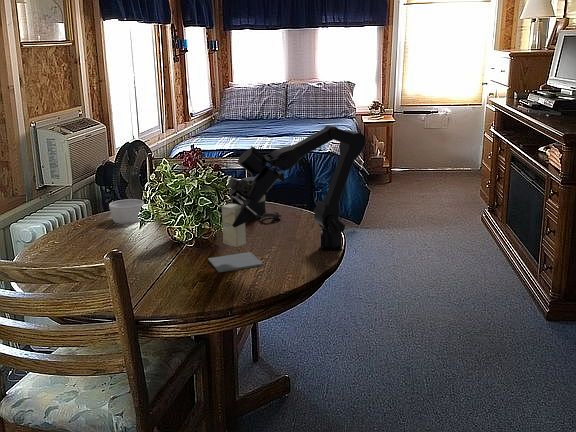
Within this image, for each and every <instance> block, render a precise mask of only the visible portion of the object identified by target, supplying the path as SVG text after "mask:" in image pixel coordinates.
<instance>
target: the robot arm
mask: <svg viewBox="0 0 576 432" xmlns="http://www.w3.org/2000/svg"><path fill="white" fill-rule="evenodd" d="M333 140H334V141H337V142H339V146H338V149H339V158H338V161H337V163H336V165H335V168H334V171H333V175H332V176H331V177H332V178H331V180H330V183H329V186H328V189H327V192H326V195H325V197H324V198H323V199H322V200H321V201H320V200H317V201H316V204H315V207H314V210H313V211H312V213H313V218H314V220H315V222H316V223H317V224H318V226H319V227H320V229H321V232H320V233H319V246H320V248H321V250H322V251H342V250H343V246H342V233H344V231H345V228H346V225H345V224H344V223H343V222H342V221H341V220H340V212H341V211H340V201H341V199H342V196H343V193H344V189H345V187H346V184H347V181H348V179H349V177H350V173H351V170H352V168H353V165H354V162H355V160H356V159H357V158H358V157H359V156H361V154H362V152H363V150H364V148H365V147H366V143H367V139H366V137H365V135H364V134H363V133H361V132H358V131H354V130H344V129H340V128H338V127H337V126H333V125H326V126H325V127H323V128H321V129H320V130H318V131H316V132H314V133H313V134H311V135H309V136H306V137H305V138H304V139H302V140H300V141H299V142H297V143H295V144H292V145H286V146H283V147H280V148H277V149H275V150H273V151H272V152H271V153H267V154H265V155H263V154H262V153H260V151H258V149H257V147H254V146H251V147H250V148H248V149H247V150H245V151H244V152H243V153H241V154H240V156H239V157H238V159H237V164H238V165H239V166H241V167H242V168H243V169H244V170H245V171H247V172H248V173H249V175H251V176H254V175H256V176H254V177H255V178H254V180H249V181H246V180H243V178H240V179H238V178H235V177H232V176H231V177H230V180H229V182H228V185H227V188H229V189H230V191H229V192H228V193H229V194H230V196H229V197H230V201H231V203H233V204H237V205H241V212H240V213H239V215H238V216H237V218H236V219H235V221H234V223H233V224H232V226H233V227H234V228H235V227H237V226H239V225H241V224H243V223H245V224H246V223H247V222H249V221H251V220H253V219H259V218H258V216H260V217H261V219H262V218H263V216H264V214H265V213H267V212H266V211H267V209H266V210H265V208H264V207H263V206H261V205H260V203H259V202H260V200H261V199H262V198H263V197H264V195H265V197H268V196H269V194H270V193H268V192H269V191H270V189H272V187H273V186H274V185H275V183H276V182H277V181H280V182H282V183H285V173H284V172H282V171H285V172H286V171H289V170H290V169H291V168H294V166H296V164H298V163H299V161H300V160H301V159H302V158H303V157H304V156H306V155H308V154H310V153H312V152H313V151H316V150H317V149H318V148H320V147H322V146H324V145H325V144H328V143H330V142H331V141H333ZM267 164H268V165H269V166H271V167H269V166H268V165H267ZM277 169H279V170H281V171H278V170H277ZM246 205H247V206H246ZM257 215H258V216H257Z"/></svg>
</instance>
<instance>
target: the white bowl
mask: <svg viewBox="0 0 576 432" xmlns="http://www.w3.org/2000/svg"><path fill="white" fill-rule="evenodd" d="M143 205H144V206H145V201H144V200H143V199H142V200H141V199H137V198H136V199H134V198H129V199H128V198H127V199H120V200H115V201H112V202H110V203H109V204H108V208H109V211H110V214H111V219H112V221H113V222H115V223H116V224H119V225H121V224H122V225H128V224H129V225H130V224H134V223H135V224H136V223H138V222H141V221H140V220H139V218H138V214H139V212H140V209H141V207H142V206H143ZM115 223H114V224H115Z"/></svg>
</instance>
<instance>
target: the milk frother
mask: <svg viewBox="0 0 576 432" xmlns="http://www.w3.org/2000/svg"><path fill="white" fill-rule="evenodd" d="M255 177H256V176H248V177H243V178H242V179H243V180H246V181H249V180H254V178H255ZM259 203H260V205H261V206H263V207H264V208H265V210H266V211H267V209H266V196H265V195H264V197H263V198H262V199H261V200H260V202H259ZM246 206H247V205H246ZM257 216H258V215H257ZM263 217H265V218H266V217H267V218H273V219H274V220H278V219H279V218H282V214H280V213H279V212H277V211H276V212H274V213H267V212H266V213H265V214H264V216H263ZM263 217H262V218H263ZM260 218H261V217H260V216H258V218H257V219H260ZM262 218H261V219H262Z"/></svg>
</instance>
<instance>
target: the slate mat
mask: <svg viewBox="0 0 576 432" xmlns="http://www.w3.org/2000/svg"><path fill="white" fill-rule="evenodd" d="M207 261H208V262H209V263H210V264H211V266H212V267H214V269H215V270H216V271H217V272H218V273H224V272H230V271H231V272H232V271H237V270H243V269H250V268H256V267H262V266H263V265H264V264H263V262H262V261H261V260H260V259H259V258H257V257H256V255H254V254H253V253H252V252H250V251H248V252H240V253H234V254H227V255H222V256H221V255H220V256H213V257H209V258H207Z"/></svg>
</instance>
